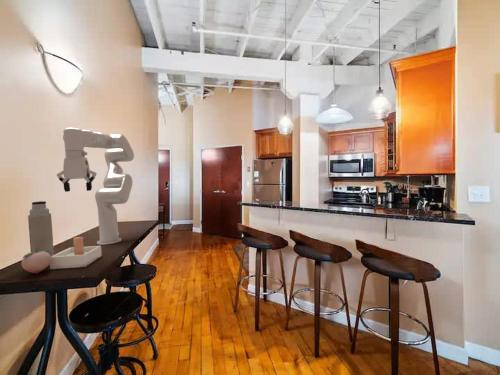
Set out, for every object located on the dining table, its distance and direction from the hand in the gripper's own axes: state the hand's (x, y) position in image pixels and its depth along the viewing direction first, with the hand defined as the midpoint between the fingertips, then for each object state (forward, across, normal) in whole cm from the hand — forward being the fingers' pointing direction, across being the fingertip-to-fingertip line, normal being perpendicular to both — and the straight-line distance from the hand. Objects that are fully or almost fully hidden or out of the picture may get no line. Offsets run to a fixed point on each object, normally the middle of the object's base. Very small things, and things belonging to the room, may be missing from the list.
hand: (78, 190), depth 126 cm
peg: (+30, -3, +10) cm, 32 cm away
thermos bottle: (+32, +12, +11) cm, 35 cm away
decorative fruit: (+31, +6, +22) cm, 39 cm away
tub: (+31, -2, +10) cm, 33 cm away
